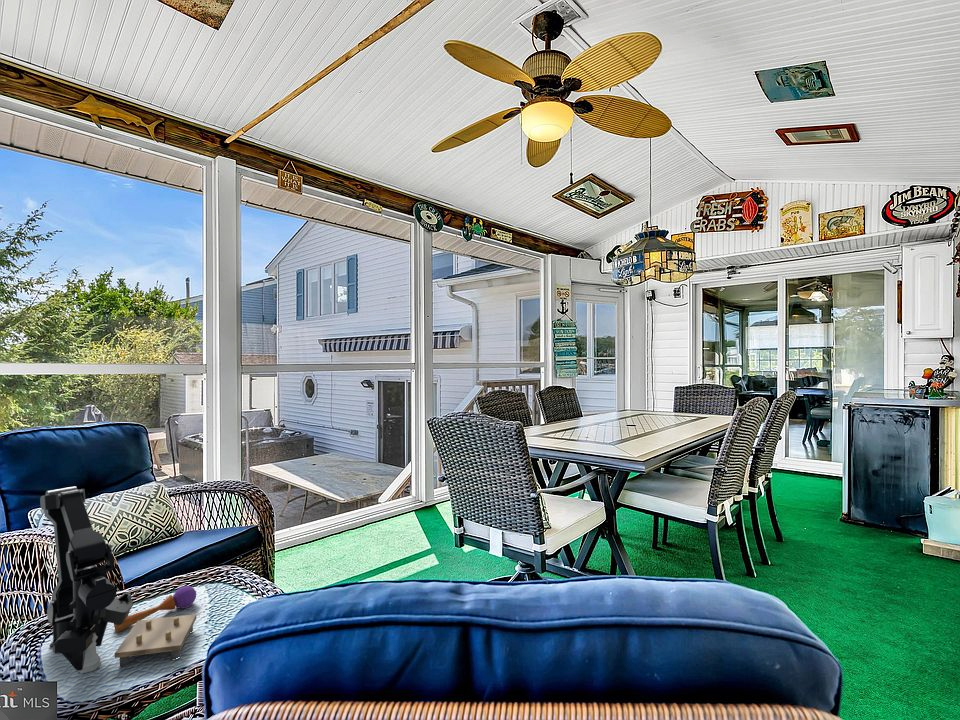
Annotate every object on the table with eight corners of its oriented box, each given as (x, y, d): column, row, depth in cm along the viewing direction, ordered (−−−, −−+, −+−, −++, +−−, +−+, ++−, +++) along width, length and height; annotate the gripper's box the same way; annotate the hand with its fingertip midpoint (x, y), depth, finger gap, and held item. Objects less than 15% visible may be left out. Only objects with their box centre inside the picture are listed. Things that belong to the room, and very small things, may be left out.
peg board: (114, 669, 120) (114, 647, 120) (137, 635, 133) (137, 615, 133) (180, 660, 124) (180, 639, 123) (196, 628, 137) (196, 608, 137)
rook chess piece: (86, 662, 122) (85, 630, 122) (105, 661, 123) (105, 629, 122) (72, 674, 118) (72, 641, 117) (93, 673, 118) (92, 641, 118)
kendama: (110, 613, 136) (189, 581, 152) (114, 635, 136) (192, 600, 152) (117, 617, 133) (197, 584, 148) (121, 640, 133) (201, 604, 148)
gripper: (110, 611, 112) (111, 678, 113) (142, 572, 130) (142, 630, 131) (51, 617, 110) (52, 686, 110) (92, 576, 127) (92, 636, 128)
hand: (89, 657), depth 120 cm, fingers open, 9 cm apart
